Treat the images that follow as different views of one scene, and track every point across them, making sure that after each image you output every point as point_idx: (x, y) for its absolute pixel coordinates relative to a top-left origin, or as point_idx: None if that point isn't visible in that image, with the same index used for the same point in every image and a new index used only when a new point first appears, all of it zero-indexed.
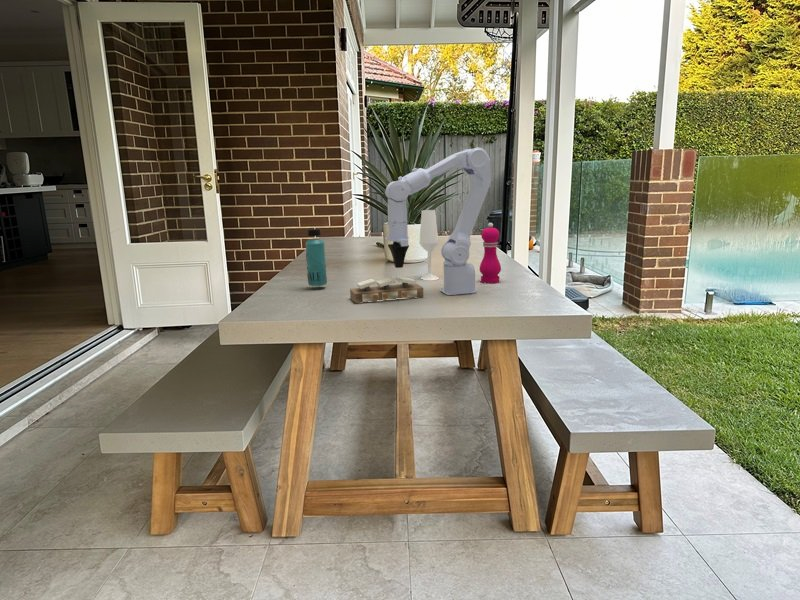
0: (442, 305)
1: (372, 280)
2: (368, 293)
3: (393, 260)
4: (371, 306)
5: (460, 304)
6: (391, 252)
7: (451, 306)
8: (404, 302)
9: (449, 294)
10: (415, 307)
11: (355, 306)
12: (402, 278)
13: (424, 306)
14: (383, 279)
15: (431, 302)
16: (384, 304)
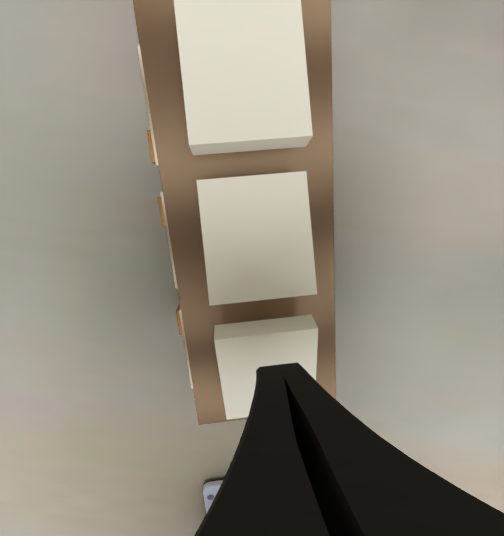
0: (33, 435)
1: (234, 123)
2: (148, 93)
3: (327, 394)
4: (68, 112)
5: (40, 496)
6: (407, 476)
7: (9, 462)
8: (126, 296)
9: (203, 490)
10: (11, 326)
11: (86, 11)
12: (254, 358)
13: (25, 366)
14: (301, 229)
15: (99, 404)
16: (103, 192)
